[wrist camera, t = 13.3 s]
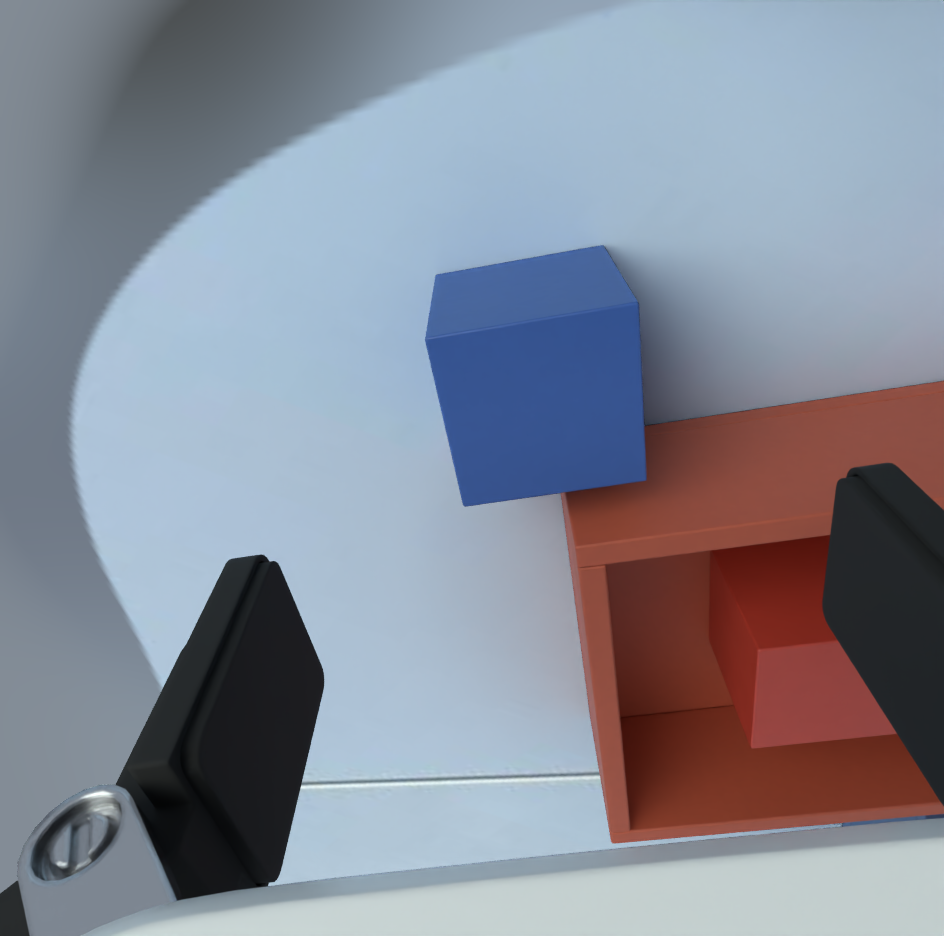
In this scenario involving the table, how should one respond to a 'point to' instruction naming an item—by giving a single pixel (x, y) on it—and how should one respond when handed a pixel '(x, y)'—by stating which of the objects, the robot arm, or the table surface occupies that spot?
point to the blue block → (539, 376)
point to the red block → (785, 647)
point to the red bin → (687, 615)
